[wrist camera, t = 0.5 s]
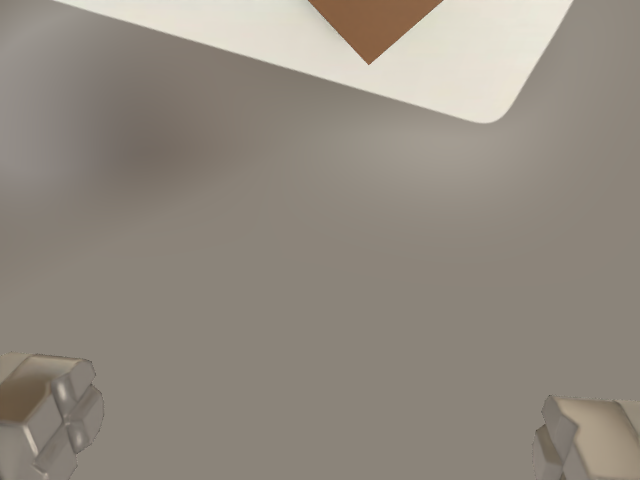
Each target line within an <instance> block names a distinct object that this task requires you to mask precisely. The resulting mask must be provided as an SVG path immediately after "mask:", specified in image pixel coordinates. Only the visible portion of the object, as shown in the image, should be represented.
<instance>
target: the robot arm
mask: <svg viewBox="0 0 640 480" xmlns="http://www.w3.org/2000/svg"><path fill="white" fill-rule="evenodd" d="M95 376H96V373H95V370H94V367H93V365H92V362H91V361H89V360H86V359H80V358H70V357H62V356H52V355H43V354H27V353H18V352H9V353H6V354H4V355H1V356H0V480H69V479H70V477H71V475H72V474H73V472H74V471H75V469H76V468H77V457H76V454H78V453H79V452H81V451H82V450H84V449H85V448H87V447H88V446H90V445H91V444H92V442H93V441H94V439H95V437H96V436H97V434H98V432H99V431H100V427H101V424H102V420H103V417H104V400H103V397H102V393H101V392H100V391H99V390H98V389H97V388H95V387H94V386H93V385H92V384H91V383H92V381H93V379H94V378H95ZM542 415H543V418H544V420H545V423H546V424H544V425H543V426H542V427H540V428H539V429H538V430H536V433H535V437H534V441H533V456H532V457H533V467H534V472H535V477H536V480H640V401H628V400H609V399H596V398H581V397H567V396H552V395H549V396H548V398H547V399H546V400H545V402H544V405H543V408H542Z"/></svg>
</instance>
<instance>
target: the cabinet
mask: <svg viewBox="0 0 640 480" xmlns="http://www.w3.org/2000/svg"><path fill="white" fill-rule="evenodd" d="M308 1H309V2H310V3H311V4H312V5H313V6H314V7H315V8H316V9H317V10H318V11H319V13H320V14H321V15H322V16H323V17H324V18H325V19H326V20H327V21H328V22H329V23H330V24H331V25H332V26H333V28H334V29H335V30H336V31H337V32H338V33H339V34H340V35H341V36H342V37H343V38H344V39H345V40H346V41H347V43H348V44H349V45H350V46H351V47H352V48H353V49H354V50H355V51H356V52H357V53H358V54H359V55H360V56H361V57H362V59H363V60H364V61H365V62H366V63H367V64H368V65H369V64H371V63H372V62H373V61H374V60H375V59H376V58H378V57H379V56H380V55H381V54H382V53H383V52H384V51H386V50H387V49H388V48H389V47H390V46H391V45H392V44H394V43H395V42H396V41H397V40H398V39H399V38H401V37H402V36H403V35H404V34H405V33H406V32H407V31H409V30H410V29H411V28H412V27H413V26H414V25H415V24H417V23H418V22H419V21H420V20H421V19H422V18H424V17H425V16H426V15H427V14H428V13H429V12H430V11H432V10H433V9H434V8H435V7H436V6H437V5H438V4H440V3H441V2H442V1H443V0H308Z"/></svg>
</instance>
